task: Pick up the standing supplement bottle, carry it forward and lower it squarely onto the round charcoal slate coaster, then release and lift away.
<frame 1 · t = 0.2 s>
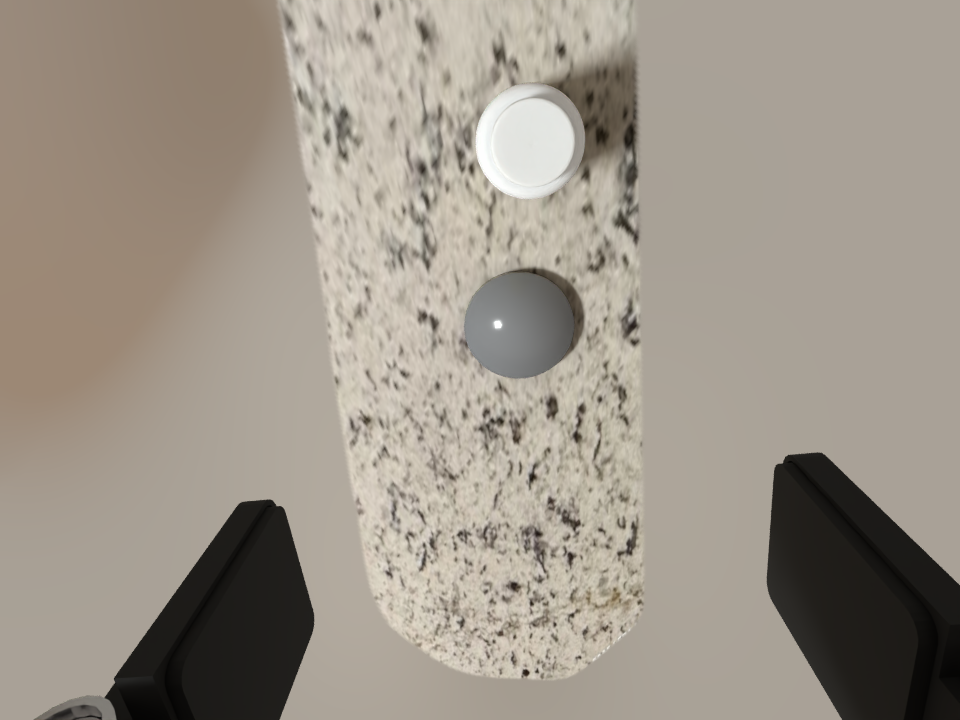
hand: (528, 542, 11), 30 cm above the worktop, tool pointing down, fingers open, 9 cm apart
supplement bottle: (523, 141, 37), on the worktop
slate coaster: (518, 324, 41), on the worktop
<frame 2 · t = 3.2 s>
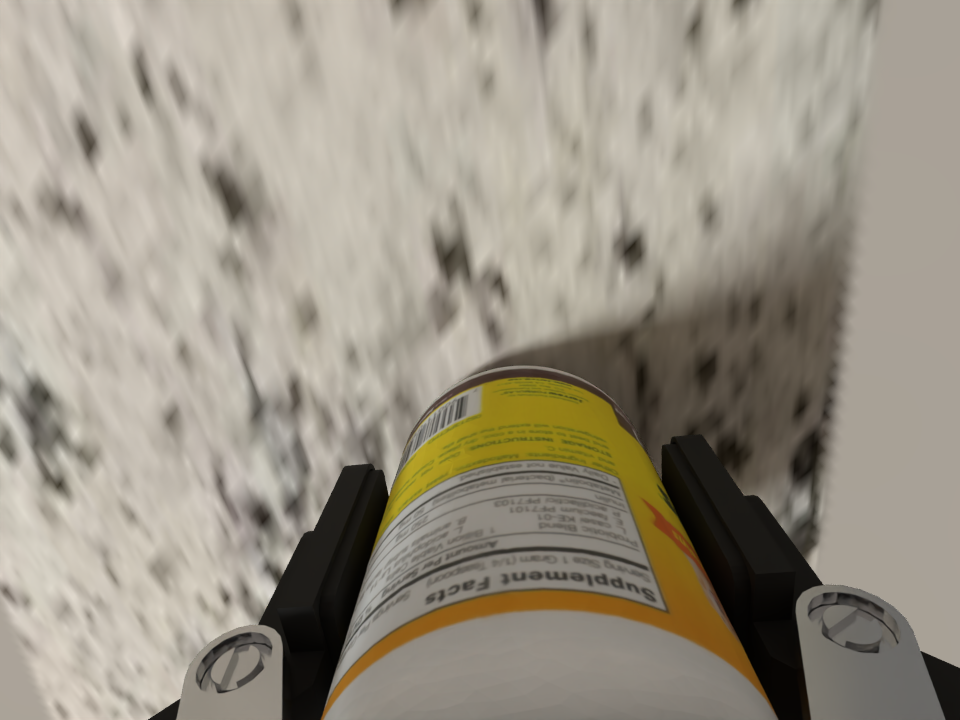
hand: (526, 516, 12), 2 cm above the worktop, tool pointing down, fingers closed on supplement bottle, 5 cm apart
supplement bottle: (522, 459, 14), on the worktop, touching gripper
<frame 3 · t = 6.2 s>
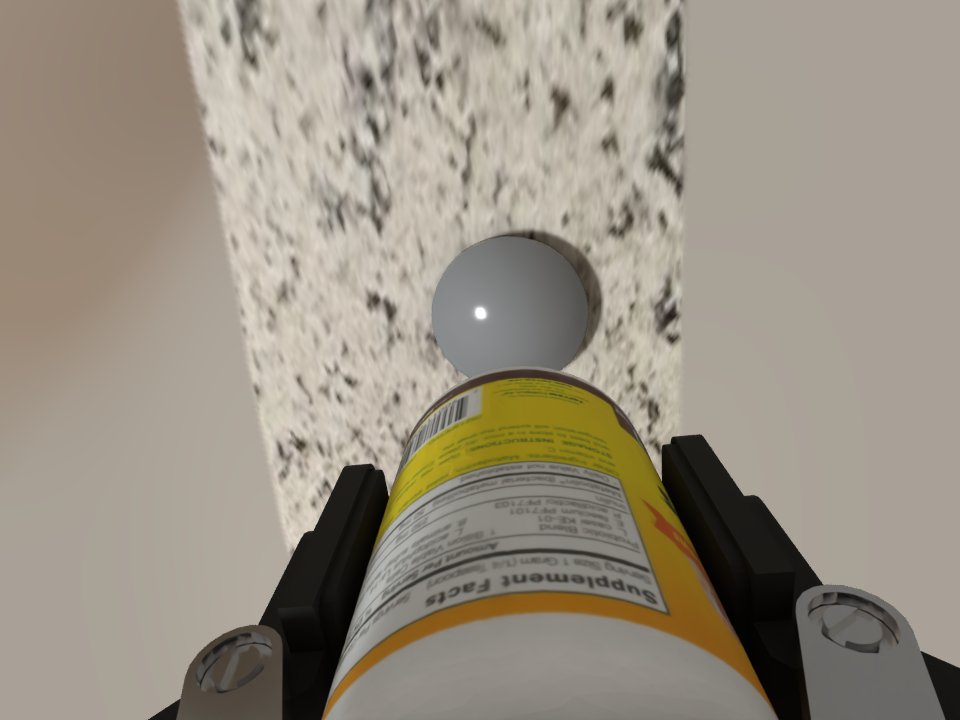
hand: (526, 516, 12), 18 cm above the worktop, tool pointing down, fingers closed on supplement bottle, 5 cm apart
supplement bottle: (522, 460, 14), point 16 cm above the worktop, touching gripper
slate coaster: (509, 312, 29), on the worktop
when the fingers open (4 cm above the worktop, at t = 9.3 s): supplement bottle stays where it is, resting on slate coaster.
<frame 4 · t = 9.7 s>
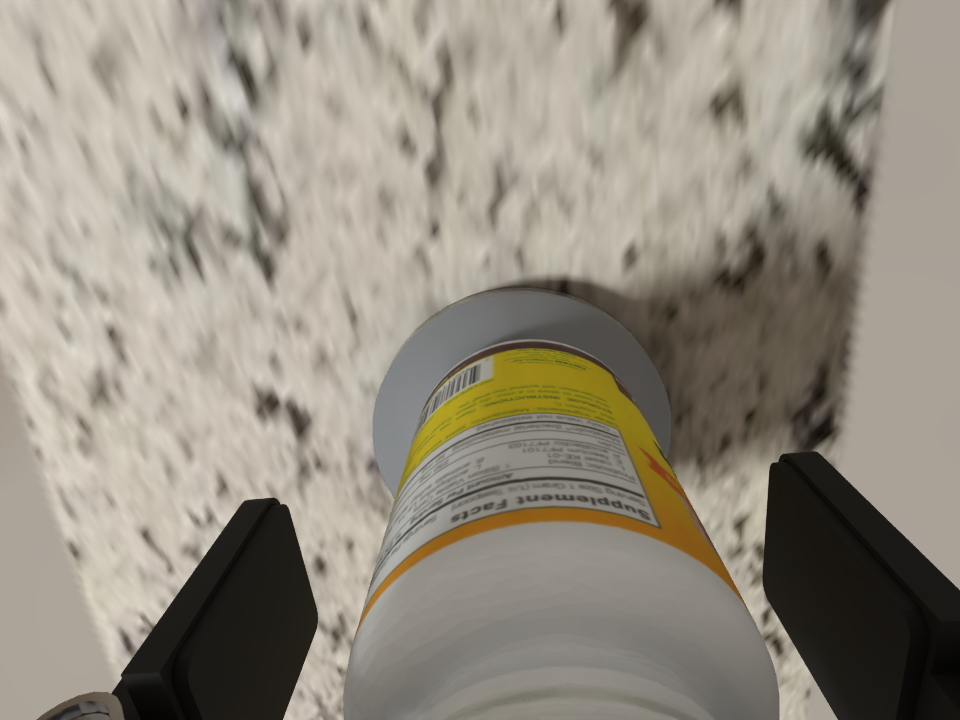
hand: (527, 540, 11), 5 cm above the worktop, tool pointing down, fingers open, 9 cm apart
supplement bottle: (528, 429, 15), point 1 cm above the worktop, touching slate coaster
slate coaster: (519, 425, 16), on the worktop
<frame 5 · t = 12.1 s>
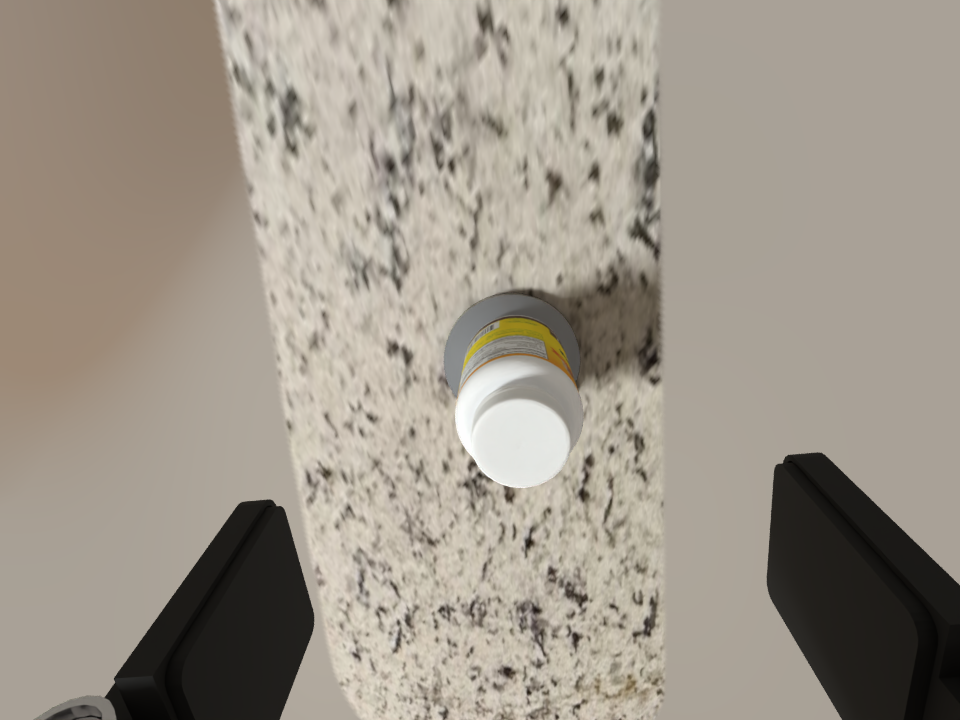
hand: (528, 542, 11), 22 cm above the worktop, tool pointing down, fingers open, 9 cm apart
supplement bottle: (515, 358, 32), point 1 cm above the worktop, touching slate coaster
slate coaster: (511, 358, 33), on the worktop
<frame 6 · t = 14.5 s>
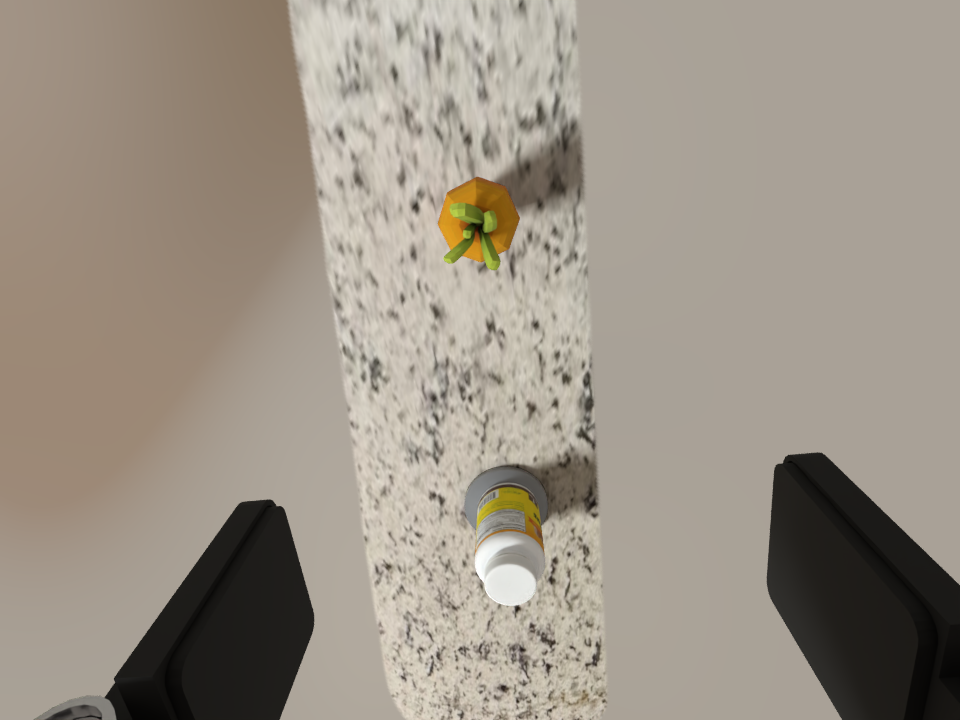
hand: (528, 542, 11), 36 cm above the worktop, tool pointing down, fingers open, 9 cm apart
supplement bottle: (508, 504, 53), point 1 cm above the worktop, touching slate coaster
slate coaster: (506, 502, 54), on the worktop
carrot: (483, 203, 44), on the worktop
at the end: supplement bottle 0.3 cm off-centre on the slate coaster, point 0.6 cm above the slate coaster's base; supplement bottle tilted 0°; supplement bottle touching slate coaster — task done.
